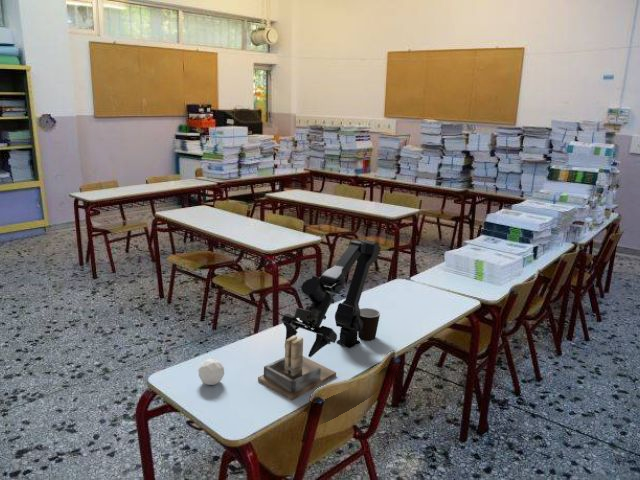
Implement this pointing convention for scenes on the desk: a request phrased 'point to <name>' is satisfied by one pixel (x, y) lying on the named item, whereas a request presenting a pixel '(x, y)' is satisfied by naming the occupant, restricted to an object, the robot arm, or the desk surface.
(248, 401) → the desk surface
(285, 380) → the walnut stand
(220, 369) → the ball
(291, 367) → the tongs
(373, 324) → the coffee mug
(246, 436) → the desk surface
